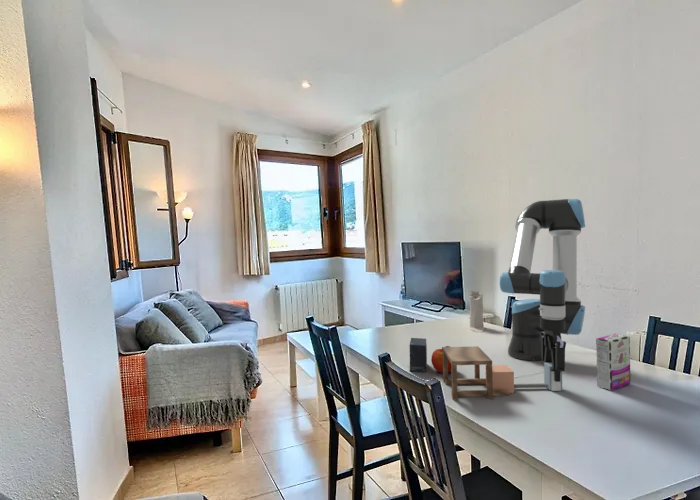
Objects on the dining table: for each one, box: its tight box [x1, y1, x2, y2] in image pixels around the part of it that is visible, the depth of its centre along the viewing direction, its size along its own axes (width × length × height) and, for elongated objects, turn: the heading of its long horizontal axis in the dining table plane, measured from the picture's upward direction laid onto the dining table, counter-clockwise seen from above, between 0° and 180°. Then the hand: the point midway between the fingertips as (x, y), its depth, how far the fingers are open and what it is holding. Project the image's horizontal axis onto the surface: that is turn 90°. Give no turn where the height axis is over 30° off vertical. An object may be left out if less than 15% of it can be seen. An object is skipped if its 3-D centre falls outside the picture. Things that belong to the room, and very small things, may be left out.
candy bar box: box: [595, 333, 632, 392], centre depth 136 cm, size 11×5×16 cm, turn 117°
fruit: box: [430, 345, 452, 374], centre depth 155 cm, size 10×10×10 cm
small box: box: [409, 337, 428, 373], centre depth 160 cm, size 11×6×10 cm, turn 168°
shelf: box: [442, 345, 510, 400], centre depth 136 cm, size 18×16×12 cm
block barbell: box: [485, 362, 563, 394], centre depth 136 cm, size 23×7×8 cm, turn 88°
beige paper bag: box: [468, 290, 486, 333], centre depth 218 cm, size 7×14×20 cm, turn 170°
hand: (552, 387), depth 135 cm, fingers closed on block barbell, 4 cm apart
